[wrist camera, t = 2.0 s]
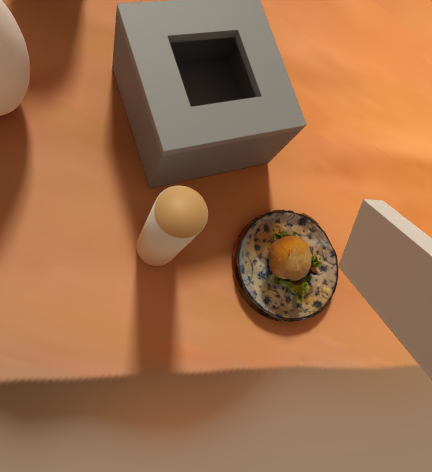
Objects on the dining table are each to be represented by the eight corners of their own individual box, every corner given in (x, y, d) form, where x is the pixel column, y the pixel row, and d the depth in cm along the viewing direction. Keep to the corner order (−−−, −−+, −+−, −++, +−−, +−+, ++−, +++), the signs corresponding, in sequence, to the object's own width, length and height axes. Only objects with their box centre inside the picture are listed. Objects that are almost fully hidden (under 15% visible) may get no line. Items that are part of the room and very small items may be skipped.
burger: (315, 337, 43) (357, 338, 36) (215, 297, 41) (240, 289, 34) (340, 237, 47) (383, 220, 40) (250, 196, 45) (279, 170, 38)
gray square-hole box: (149, 188, 42) (163, 151, 33) (112, 67, 44) (117, 3, 35) (267, 163, 46) (306, 124, 38) (229, 55, 48) (258, -4, 40)
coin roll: (142, 271, 39) (163, 244, 28) (131, 232, 40) (146, 191, 29) (181, 260, 41) (215, 231, 30) (169, 222, 41) (198, 180, 30)
